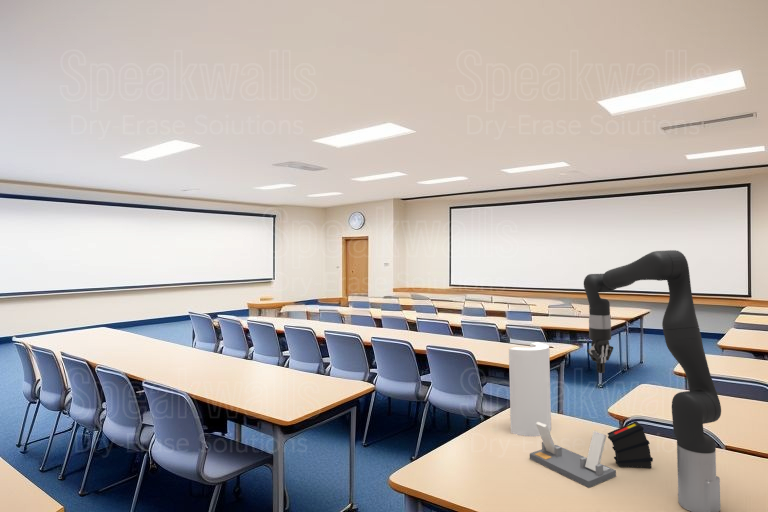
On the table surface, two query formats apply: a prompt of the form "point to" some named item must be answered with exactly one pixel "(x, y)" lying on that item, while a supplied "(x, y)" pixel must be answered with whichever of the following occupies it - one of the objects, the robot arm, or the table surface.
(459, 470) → the table surface
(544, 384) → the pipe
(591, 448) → the inner lever
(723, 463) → the table surface
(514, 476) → the table surface
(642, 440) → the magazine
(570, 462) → the switch panel
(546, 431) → the outer lever
